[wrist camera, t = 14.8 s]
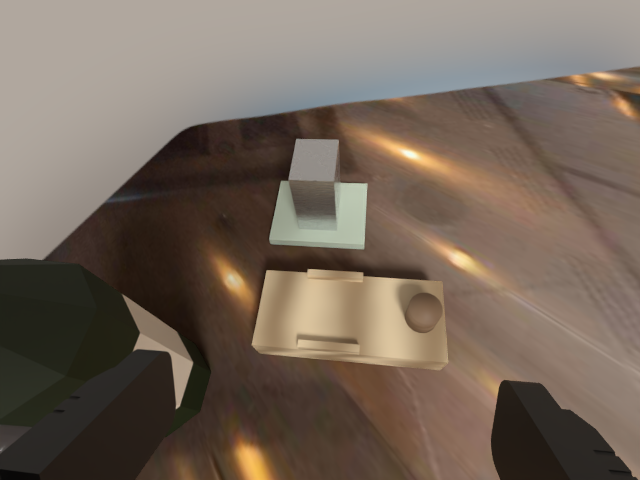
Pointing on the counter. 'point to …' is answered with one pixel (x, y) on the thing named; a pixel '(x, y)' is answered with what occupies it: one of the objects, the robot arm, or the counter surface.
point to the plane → (352, 318)
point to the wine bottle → (78, 340)
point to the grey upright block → (316, 183)
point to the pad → (345, 236)
